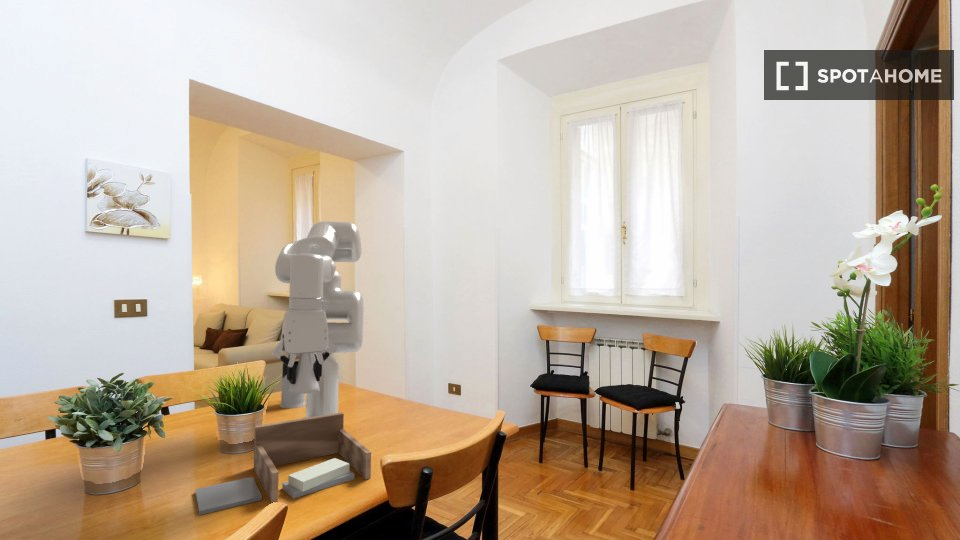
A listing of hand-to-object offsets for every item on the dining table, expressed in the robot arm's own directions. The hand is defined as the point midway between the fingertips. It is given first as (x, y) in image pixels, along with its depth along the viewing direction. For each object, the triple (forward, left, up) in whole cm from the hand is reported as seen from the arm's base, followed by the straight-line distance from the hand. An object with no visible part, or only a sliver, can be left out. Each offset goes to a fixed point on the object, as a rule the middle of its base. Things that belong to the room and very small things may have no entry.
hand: (304, 380), depth 110 cm
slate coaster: (+5, -16, -21) cm, 27 cm away
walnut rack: (+3, +1, -21) cm, 22 cm away
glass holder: (-62, +12, -22) cm, 67 cm away
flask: (0, 0, -3) cm, 3 cm away
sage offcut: (+9, +1, -20) cm, 22 cm away
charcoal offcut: (+9, +1, -22) cm, 24 cm away
